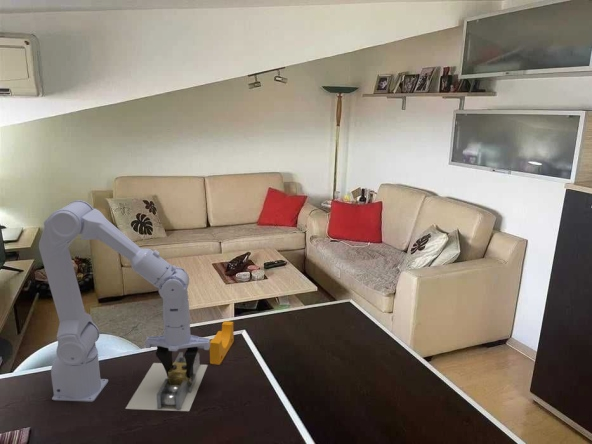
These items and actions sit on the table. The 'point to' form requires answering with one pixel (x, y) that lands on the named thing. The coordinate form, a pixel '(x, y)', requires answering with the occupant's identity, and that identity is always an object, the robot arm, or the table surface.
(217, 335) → the pipe clamp
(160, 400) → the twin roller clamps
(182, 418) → the table surface
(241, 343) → the table surface
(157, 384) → the mat
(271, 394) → the table surface
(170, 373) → the tan knob cube
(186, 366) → the robot arm
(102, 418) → the table surface
